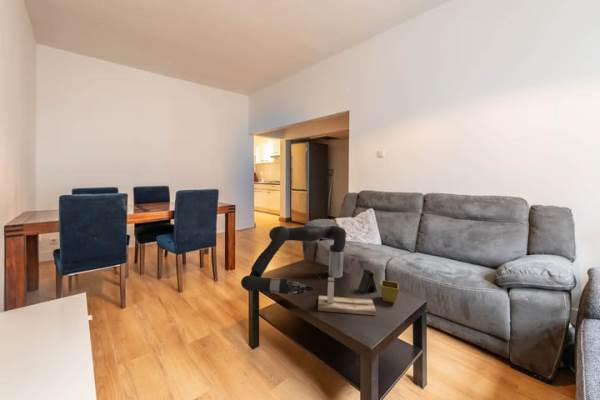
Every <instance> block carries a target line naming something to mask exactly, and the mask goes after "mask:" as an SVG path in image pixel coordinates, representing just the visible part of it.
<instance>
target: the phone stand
mask: <svg viewBox="0 0 600 400" xmlns="http://www.w3.org/2000/svg"><path fill="white" fill-rule="evenodd" d="M362 272H363V274H362V277H361V280H360V282H359V285H358V288H357V290H359V292H360V293H362V294H365V295H366V294H367V295H368V294H373V293H377V292H378V290H377V287H376V282H375V278H374V273H373V272H372V271H370V270H368V269H367V268H366V269H364V270H363V271H362Z"/></svg>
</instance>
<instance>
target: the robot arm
mask: <svg viewBox="0 0 600 400" xmlns="http://www.w3.org/2000/svg"><path fill="white" fill-rule="evenodd" d="M268 236H269V239H270V240H271V241H270V242H269V244H268V246H267V247H266V248H265V249H264V250H263V251H262V252H261V253H260V254H259V255H258V257H257V258H256V260H255V261H254V263H253V265H252V266H251V269H250V270H251V271H250V274H249V275H245V276H243V278H241V281H240V285H241V287H242V288H243V290H245V291H247V292H253V291H256V290H257V291H260V292H264V293H272V294H279V295H289V293H292V295H294V296H296V295H301V294H304V293H305V292H313V291H314V286H313V285H307V284H306V283H305V282H303V281H301V280H298V279H296V280H295V281H290V279H289V278H278V277H262V276H263V274H264V273H265V271H266V270H267V268H268V266H269V265H270V263H271V262H272V260H273V258H274V257H275V255H276V254H277V252H278V251H279V250H280V249H281V247H282V246H283V245H284V244H285V243H286V242H287V241H294V242H295V241H298V242H315V241H318V240H320V239H330V240H332V241H333V244H331V245H330V246H329V257H328V259H329V261H328V277H334V279H340V278H342V277H343V272H344V271H343V270H344V269H343V267H344V251H345V250H344V249H345V246H346V240H347V239H346V238H347V233H346V229H345V228H343V227H342V226H341V227H340V226H338V225H331V226H330V225H329V226H309V225H306V226H299V227H298V226H297V227H286V226H284V225H279V226H274V227H273V228H271V229H270V231H269V233H268Z"/></svg>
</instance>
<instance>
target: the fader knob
mask: <svg viewBox="0 0 600 400" xmlns="http://www.w3.org/2000/svg"><path fill="white" fill-rule="evenodd" d="M334 292H335V278H334V277H330V276H328V277H327V295H326V296H327V303H333V299H334V297H335V296H334V295H335V293H334Z"/></svg>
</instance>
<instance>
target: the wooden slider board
mask: <svg viewBox="0 0 600 400" xmlns="http://www.w3.org/2000/svg"><path fill="white" fill-rule="evenodd" d="M327 296H328V295H318V303H317V306H318V307H317V311H318V312H332V313H345V314H355V315H367V316H369V315H370V316H377V309H376V306H375V304H374V301H373V299H372V298H371V299H370V298H369V299H368V298H358V297H357V298H356V297H355V298H354V297H341V296H334V299H333V303H327Z"/></svg>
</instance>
